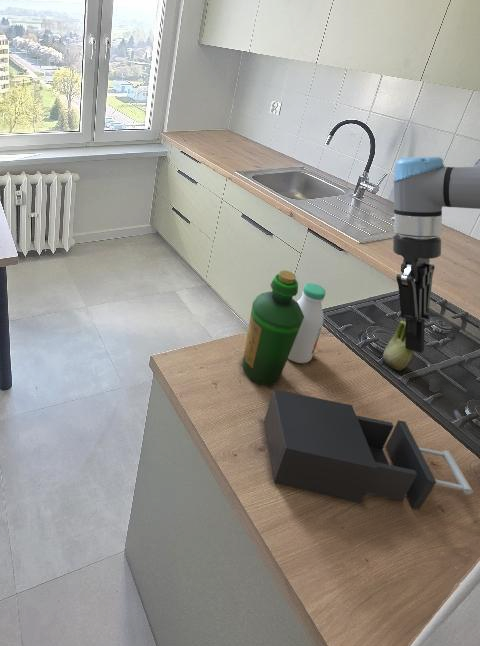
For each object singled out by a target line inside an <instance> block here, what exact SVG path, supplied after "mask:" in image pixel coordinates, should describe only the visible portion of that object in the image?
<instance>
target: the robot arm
mask: <svg viewBox="0 0 480 646" xmlns="http://www.w3.org/2000/svg"><path fill="white" fill-rule="evenodd" d="M394 166H395V167H394V179H393V182H392V183H393V216H391V218H390V220H391V222H393V232H394V233H395V234H394V235H393V237H392V243H393V244H392V251H393V253H394V254H396V255H397V256H401V257H402V258H403V260H402V263H401V264H400V272H401V274H399V273H397V274H396V278H395V279H396V283H397V286H398V295H399V296H398V298H399V306H400V307H399V308H400V315H399V317H400V318H402V319H404V320H405V323H406V341H405V348H406V349H409V350H413V351H414V352H416V353H419V354H423V352H425V327H426V326H425V321H426V320H431V315H429V314H428V313H430V305H431V296H432V286H433V276H434V272H435V268H436V267H435V264H431V263H430V262H431V260H430V259H437V258H439V257H440V256H441V255H442V239H441V238H440V237H439V236H441V235H442V234H443V233H442V232H443V231H442V230H443V229H442V228H443V208H457V209H476V210H480V158H479V159H478V160H477V161H476V162H475V164H474V166H458V167H456V166H455V167H454V166H445V164H444V159H443V158H442V157H441V156H410V157H409V156H408V157H402V158H399V159H397V161H396V162H395V163H394Z"/></svg>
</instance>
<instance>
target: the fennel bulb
mask: <svg viewBox="0 0 480 646" xmlns="http://www.w3.org/2000/svg"><path fill="white" fill-rule="evenodd" d="M405 341H406V321H403V320H399V322H398V326H397V328H396V330H395V333H394V335H393V336H392V338H391V339H389V342H388V343H387V344H386V347H385V349H384V351H383V354H382V360H383V361H384V362H385V364H386V365H387V366H388V367H390V368H391V369H393V370H396V371H399V372H401V371H403V370H404V369H405V368H406V367H407V366H408V365H409V363H410V362H411V360H412V358H413V355H414V353H415V351H413V350H409V349H406V348H405Z"/></svg>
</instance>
